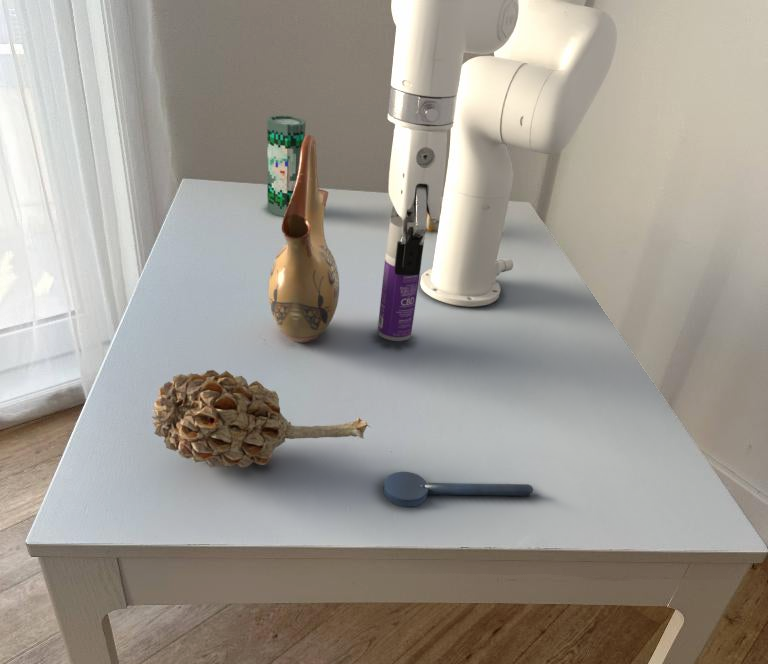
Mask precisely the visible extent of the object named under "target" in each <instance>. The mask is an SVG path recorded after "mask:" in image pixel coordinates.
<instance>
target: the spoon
mask: <svg viewBox="0 0 768 664" xmlns="http://www.w3.org/2000/svg"><path fill="white" fill-rule="evenodd" d="M533 492H534V487H533V486H532V485H531V484H527V483H525V484H523V483H520V484H519V483H466V482H465V483H463V482H427V481H426V479H425V478H424V477H422V476H421V475H419V474H417V473H414V472H410V471H397V472H393V473H391V474H389V475H388V476H387V477H386V478H385V479H384V484H383V494H384V496H385V498H386V499H387V500H388V501H389V502H390V503H392V504H394V505H396V506H399V507H405V508H412V507H418V506H419V505H421V504H424V503H425V501H426V500H427V498H428V495H449V496H450V495H452V496H453V495H457V496H458V495H459V496H461V495H462V496H465V495H466V496H514V497H515V496H519V497H522V496H523V497H524V496H525V497H528V496H531V495H532V494H533Z"/></svg>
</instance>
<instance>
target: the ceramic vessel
mask: <svg viewBox="0 0 768 664" xmlns="http://www.w3.org/2000/svg"><path fill="white" fill-rule="evenodd" d="M317 163H318V162H317V141H316V139H315V137H314V136H313V135H311V134H305V137H304V140H303V143H302V146H301V151H300V160H299V169H298V175H297V180H296V184H295V188H294V191H293V194H292V197H291V200H290V203H289V205H288V208H287V210H286V212H285V215H284V216H283V218H282V221H281V233H282V235H283V237H284V239H285V242H286V243H285V244H284V245H283V246H282V247H281V248H280V250H279V251H278V253H277V254H276V257H275V259H274V261H273V263H272V266H271V269H270V274H269V281H268V303H269V307H270V312H271V314H272V317H273V320H274V322H275V325H277V327H278V329H279V330H280V332H281V333H282V334H283V335H284V336H286V337H287V338H288V339H289V340H291V341H293V342H296V343H309V342H312V341H314V340H316V339H318V338H319V336H321V335H322V334H323V333H324V332H325V331H326V329H327V328H328V327H329V326H330V324H331V322H332V320H333V318H334V316H335V314H336V310H337V307H338V304H339V297H340V277H339V276H340V275H339V269H338V266H337V263H336V260H335V257H334V256H333V253H332V251H331V249H329V246H328V244H327V241H326V237H325V229H324V228H325V227H324V220H325V219H324V218H325V210H326V205H327V200H328V196H329V192H328V191H327V190H325V189H321V188H320V186H319V177H318V166H317V165H318V164H317Z"/></svg>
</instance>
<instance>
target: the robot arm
mask: <svg viewBox="0 0 768 664" xmlns="http://www.w3.org/2000/svg"><path fill="white" fill-rule="evenodd" d="M586 2H587V0H391V4H390V5H391V7H390V9H391V15H392V19H393V23H394V24H395V27H396V29H395V38H394V49H393V60H392V67H391V68H392V70H391V79H390V91H389V99H388V112H387V120H388V121H389V122H390V123H393V124H394V129H393V140H392V145H391V153H390V155H391V156H390V163H389V172H388V196H389V199H390V201H391V203H392V211H391V215H390V220H391V219H392V218H394V217H398V216H400V217H401V218H402V221H401V237H400V241H397V250H396V258H395V267H394V272H395V274H397V275H418V274H419V273H420V274H421V269H420V267H421V268H422V261H421V260H423V253H424V252H423V251H424V244H425V236H426V232H427V213H428V214H429V216H430V218H431V219H432V220H433V221H436V222H437V221H438V220H439V223H438V229H437V234H436V235H437V237H436V241H435V242H436V243H435V250H434V257H433V263H432V268H429V269H428V270H425V271H424V272H423V273H422V274H421V275H420V281H419V283H420V288H421V290H422V291H423V292H424V293H425V294H426V295H428V296H429V297H430V298H432V299H434V300H436V301H439V302H442V303H444V304H448V305H452V306H457V307H468V308H471V307H473V308H474V307H475V308H476V307H483V306H487V305H490V304H493V303H494V302H496V301H498V299H499V298H500V294H501V285H500V283H499V282H498V281H497V277H498V276H499V275H500V274H501V273H505V272H509V271H511V270H512V269H513V268H514V261H513V259H512V258H510V257H507V258H502V259H499V260H498V255H499V250H500V247H501V246H500V245H501V240H502V235H503V231H504V226H505V221H506V216H507V212H508V208H509V202H510V197H511V194H512V193H511V192H512V188H513V183H514V168H513V162H512V160H511V156H510V153H509V151H508V150H509V149H508V147H507V145H508V146H512V147H515V148H519V149H523V150H527V151H530V152H534V153H539V154H544V155H554V154H558V153H560V152H562V151H563V150H564V149H565V148H566V147H567V146H568V145H569V143H570V142H571V140H572V139H573V137H574V136H575V134H576V132H577V130H578V128H579V127H580V125H581V123H582V122H583V120H584V118H585V116H586V114H587V113H588V111H589V109H590V107H591V105H592V103H593V102H594V100H595V98H596V96H597V95H598V93H599V91H600V89H601V88H602V85H603V84H604V81H605V79H606V77H607V75H608V73H609V70H610V69H611V66H612V62H613V59H614V55H615V52H616V47H617V38H618V33H617V26H616V23H615V21H614V19H613V17H612V16H611V15H610V14H609V13H607V12H606V11H604V10H601V9H599V8H595V7H591V6H586ZM465 53H467V54H475V55H479V56H475V57H473V58H469V59H468V60H467V61H465V62H464V54H465ZM489 54H493V55H489ZM448 130H450V137H449V138H450V139H449V140H450V141H449V150H448V151H449V152H448V161H447V149H448V147H447V146H448ZM446 162H447V164H446ZM446 165H447V168H446ZM445 174H446V176H445ZM444 182H445V183H444ZM441 207H442V208H441ZM440 211H441V213H440ZM408 222H411V223H414V224H413V227H409V229H408V231H407V224H408Z"/></svg>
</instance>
